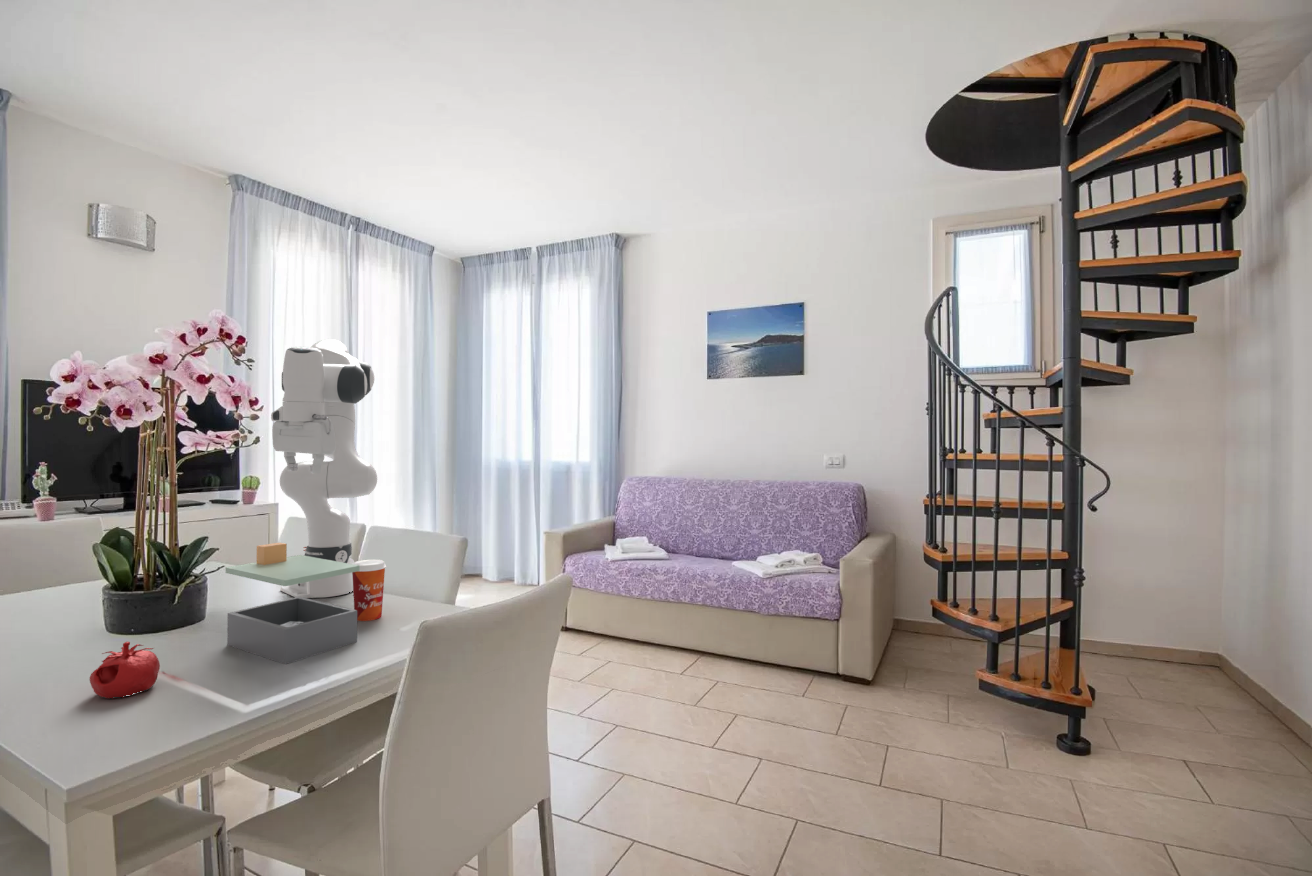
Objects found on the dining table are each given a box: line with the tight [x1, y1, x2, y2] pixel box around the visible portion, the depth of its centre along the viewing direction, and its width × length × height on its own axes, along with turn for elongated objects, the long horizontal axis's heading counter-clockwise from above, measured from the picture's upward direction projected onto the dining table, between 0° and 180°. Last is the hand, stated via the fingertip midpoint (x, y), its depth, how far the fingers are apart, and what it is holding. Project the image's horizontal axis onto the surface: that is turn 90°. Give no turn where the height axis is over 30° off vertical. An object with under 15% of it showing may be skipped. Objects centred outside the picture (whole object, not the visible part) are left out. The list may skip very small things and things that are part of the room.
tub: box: [226, 597, 358, 665], centre depth 138 cm, size 22×16×8 cm
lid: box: [224, 542, 360, 587], centre depth 138 cm, size 23×17×5 cm
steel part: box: [280, 621, 306, 627], centre depth 142 cm, size 4×4×3 cm
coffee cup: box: [352, 559, 387, 622], centre depth 158 cm, size 8×8×15 cm
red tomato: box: [89, 641, 161, 699], centre depth 115 cm, size 10×10×9 cm
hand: (303, 471), depth 150 cm, fingers open, 8 cm apart
